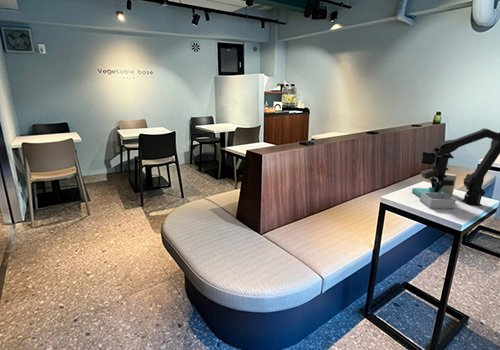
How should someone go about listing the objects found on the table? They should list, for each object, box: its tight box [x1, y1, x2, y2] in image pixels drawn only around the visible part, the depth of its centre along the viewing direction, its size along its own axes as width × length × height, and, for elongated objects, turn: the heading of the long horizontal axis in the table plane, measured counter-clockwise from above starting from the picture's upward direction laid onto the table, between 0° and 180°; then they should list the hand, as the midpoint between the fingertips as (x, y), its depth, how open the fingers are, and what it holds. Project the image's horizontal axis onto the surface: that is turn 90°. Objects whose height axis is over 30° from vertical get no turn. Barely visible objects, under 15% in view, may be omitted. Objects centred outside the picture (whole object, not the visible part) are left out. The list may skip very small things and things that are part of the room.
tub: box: [419, 192, 457, 210], centre depth 151 cm, size 12×10×5 cm
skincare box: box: [441, 172, 458, 197], centre depth 165 cm, size 6×4×12 cm
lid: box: [411, 186, 447, 197], centre depth 162 cm, size 13×11×6 cm
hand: (434, 192), depth 158 cm, fingers closed on lid
